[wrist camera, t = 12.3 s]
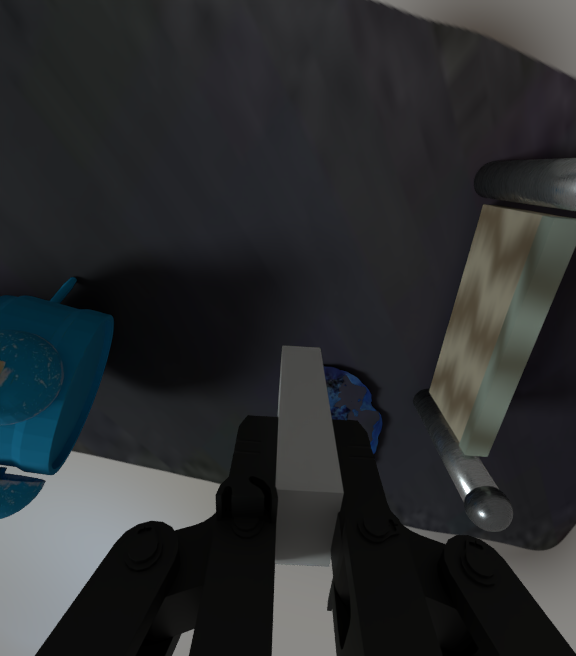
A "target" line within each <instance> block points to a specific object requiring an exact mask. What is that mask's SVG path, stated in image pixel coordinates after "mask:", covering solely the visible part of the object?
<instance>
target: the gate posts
mask: <svg viewBox="0 0 576 656" xmlns="http://www.w3.org/2000/svg"><path fill="white" fill-rule="evenodd" d="M474 189H475V191H476V193H477V194H478V195H479V196H481V197H484V198H490V199H497V200H504V201H510V202H517V203H524V204H531V205H537V206H544V207H551V208H558V209H564V210H571V211H576V158H559V159H535V160H511V161H492V162H489V163H487V164H485V165H484V166H482V167H481V168H480V169H479V171H478V172H477V174H476V176H475V179H474ZM429 390H430V389H425V390H422V391H420V392H418V393H417V394H416V395H415V396H414V399H413V403H414V406H415V408H416V410H417V411H418V413H419V415H420V417H421V419H422V421H423V423H424V425H425V427H426V429H427V431H428V433H429V435H430V437H431V439H432V441H433V443H434V445H435V447H436V449H437V451H438V453H439V455H440V457H441V458H442V460H443V462H444V464H445V466H446V468H447V470H448V472H449V474H450V476H451V478H452V480H453V482H454V484H455V486H456V488H457V490H458V492H459V494H460V496H461V498H462V500H463V502H464V507H465V510H466V513H467V515H468V517H469V518H470V519H471V521H472V522H473V523H474V524H475V525H477V526H478V527H480V528H481V529H484V530H486V531H491V532H498V531H502V530H504V529H505V528H507V527H508V526H509V525H510V523H511V521H512V518H513V509H512V506H511V503H510V501H509V499H508V498H507V497H506V495H505V494H504V493H503V492H502V491H500V490H499V489H498V487H497V485H496V484H495V482H494V481H493V479H492V478H491V476H490V475H489V473H488V471H487V470H486V468H485V467H484V465H483V464H482V462H481V460H480V459H479V457H478V456H468V455H464V453H463V451H462V450H461V448H460V446H459V443H460V442H459V440H458V439H457V437H456V435H455V434H454V432H453V431H452V429H451V427H450V426H449V424H448V422H447V421H446V419H445V417H444V416H443V414H442V412H441V411H440V409H439V408H438V406H437V404H436V403H435V401H434V399H433V398H432V396H431V394H430V393H429Z"/></svg>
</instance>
